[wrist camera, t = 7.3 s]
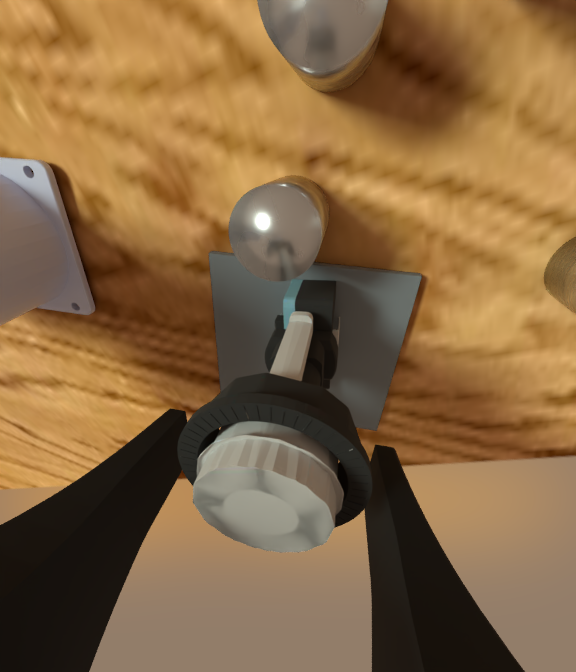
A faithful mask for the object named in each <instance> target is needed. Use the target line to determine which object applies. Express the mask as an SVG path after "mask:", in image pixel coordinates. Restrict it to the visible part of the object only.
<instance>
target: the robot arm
mask: <svg viewBox="0 0 576 672" xmlns="http://www.w3.org/2000/svg"><path fill="white" fill-rule="evenodd" d="M31 169H32V170H33V172H34V175H33V174H32V172H31ZM78 305H79V306H78ZM35 308H41V309H48V310H55V311H61V312H68V313H75V314H82V315H90V314H91V313H93V312H94V311H95V304H94V301H93V298H92V295H91V292H90V288H89V285H88V282H87V279H86V275H85V272H84V269H83V266H82V263H81V259H80V256H79V253H78V250H77V246H76V243H75V240H74V237H73V234H72V230H71V227H70V224H69V221H68V218H67V214H66V211H65V208H64V205H63V201H62V198H61V195H60V192H59V189H58V185H57V182H56V179H55V176H54V173H53V170H52V168H51V167H50V166H49V165H48V164H47V163H46V162H45V161H42V160H33V159H19V158H5V157H0V326H1V325H3V324H5V323H7V322H9V321H11V320H13V319H15V318H17V317H19V316H21V315H23V314H25V313H27V312H29V311H31V310H33V309H35ZM186 424H187V418H186V412H185V411H182V410H176V409H169V410H168V411H167V412H165V413H164V414H163V415H162V416H161V417H159V418H158V419H157V420H156V421H154V422H153V423H152V424H151V425H150V426H148V427H147V428H146V429H145V430H144V431H142V432H141V433H140V434H139V435H137V436H136V437H135V438H134V439H132V440H131V441H130V442H129V443H127V444H126V445H125V446H123V447H122V448H121V449H120V450H118V451H117V452H116V453H114V454H113V455H112V456H110V457H109V458H108V459H106V460H105V461H104V462H102V463H101V464H99V465H98V466H97V467H95V468H94V469H93V470H91V471H90V472H88V473H87V474H85V475H84V476H82V477H81V478H80V479H78V480H77V481H75V482H74V483H72V484H70V485H69V486H67V487H66V488H64V489H63V490H61V491H59V492H58V493H56V494H55V495H53V496H52V497H50V498H48V499H46V500H45V501H43V502H41V503H39V504H38V505H36V506H34V507H32V508H31V509H29V510H27V511H26V512H24V513H22V514H21V515H19V516H17V517H15V518H13V519H11V520H9V521H7V522H5V523H4V524H2V525H0V672H89V670H90V668H91V665H92V662H93V660H94V657H95V654H96V652H97V649H98V647H99V644H100V641H101V639H102V636H103V634H104V631H105V629H106V626H107V624H108V621H109V619H110V616H111V614H112V611H113V609H114V606H115V604H116V602H117V599H118V597H119V594H120V592H121V590H122V587H123V585H124V583H125V580H126V578H127V576H128V573H129V571H130V569H131V567H132V564H133V562H134V560H135V558H136V555H137V553H138V551H139V549H140V547H141V544H142V542H143V540H144V538H145V537H146V535H147V533H148V531H149V529H150V527H151V525H152V523H153V522H154V520H155V518H156V516H157V514H158V513H159V511H160V509H161V507H162V505H163V504H164V502H165V500H166V498H167V496H168V495H169V493H170V491H171V489H172V487H173V486H174V484H175V482H176V480H177V478H178V476H179V475H180V473H181V471H182V468H181V465H180V463H179V459H178V451H177V447H178V441H179V437H180V435H181V433H182V431H183V429H184V427H185V426H186ZM370 464H371V471H372V493H371V497H370V499H369V502H368V504H367V505H366V507H365V520H366V532H367V542H368V554H369V566H370V577H371V593H372V672H525V671H524V670H523V669H522V667H521V666H520V665H519V663H518V662H517V661H516V659H515V658H514V657H513V655H512V654H511V652H510V651H509V650H508V648H507V647H506V645H505V644H504V642H503V641H502V640H501V638H500V637H499V635H498V634H497V633H496V631H495V630H494V628H493V627H492V625H491V624H490V623H489V621H488V620H487V618H486V617H485V616H484V614H483V613H482V611H481V610H480V608H479V607H478V605H477V604H476V602H475V601H474V599H473V598H472V596H471V595H470V593H469V592H468V590H467V589H466V587H465V585H464V584H463V582H462V581H461V579H460V578H459V576H458V574H457V573H456V571H455V569H454V568H453V566H452V565H451V563H450V561H449V560H448V558H447V556H446V554H445V553H444V551H443V549H442V548H441V546H440V544H439V542H438V540H437V538H436V537H435V535H434V533H433V531H432V529H431V527H430V526H429V524H428V522H427V520H426V518H425V516H424V514H423V512H422V510H421V508H420V506H419V504H418V502H417V500H416V498H415V496H414V493H413V491H412V489H411V487H410V485H409V482H408V480H407V478H406V476H405V473H404V471H403V469H402V466H401V464H400V461H399V459H398V456H397V453H396V450H395V449H394V448H392V447H387V446H381V445H375V448H374V451H373V455H372V458H371V461H370Z"/></svg>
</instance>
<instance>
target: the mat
mask: <svg viewBox="0 0 576 672" xmlns="http://www.w3.org/2000/svg"><path fill="white" fill-rule="evenodd" d="M209 263H210V274H211V286H212V297H213V309H214V321H215V332H216V344H217V355H218V367H219V378H220V390H221V392H222V391H223V390H224V389H225V388H226V387H227V386H228V385H229V384H230V383H231V382H232V381H233V380H234V379H236V378H238V377H244V376H249V375H255V374H260V373H269V371H268V369H267V367H266V364H265V350H266V347H267V344H268V342H269V340H270V338H271V336H272V333H273V332H274V330H275V322H274V321H275V319H276V317H277V315H280V314H283V300H284V296H285V294H286V292H287V290H288V288H289V286H290V284H291V280H292V279H291V280H287V281H280V282H276V281H268V280H265V279H262V278H259V277H257V276H255V275H254V274H252V273H251V272H249V271H248V270H247V269H246V268H245V267H244V266H243V265H242V264H241V263H240V262H239V260H238V259H237V257H236V256H235V254H234V253H226V252H217V251H211V252H210V253H209ZM421 278H422V276H421V274H420V273H411V272H402V271H392V270H383V269H374V268H365V267H355V266H346V265H337V264H328V263H318V262H313V264H312V265H311V266H310V267H309V269H308V270H306V271H305V272H304V273H303V274H301V275H300V276H298V277H296V278H294V279H298V280H330V281H336V299H335V309H334V318H333V329H338V319H339V317H340V330H339V343H338V360H337V369H336V372H335V375H334V376H333V378H332V379H331V380H330V388H329V389H326V390H328V391H329V392H330V393H331V394H332V395H334V396H335V397H336V398H337V399H339V400H340V401H341V402H342V403H344V404H345V405H346V406H347V407H348V408H349V410H350V413H351V416H352V419H353V422H354V424H355V427H357V428H363V429H369V430H375V431H377V428H378V424H379V421H380V418H381V414H382V411H383V407H384V404H385V401H386V397H387V394H388V390H389V387H390V384H391V380H392V377H393V373H394V370H395V366H396V363H397V360H398V356H399V353H400V349H401V346H402V343H403V339H404V336H405V332H406V329H407V325H408V322H409V319H410V315H411V312H412V308H413V305H414V302H415V298H416V295H417V291H418V288H419V285H420V281H421Z"/></svg>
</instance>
